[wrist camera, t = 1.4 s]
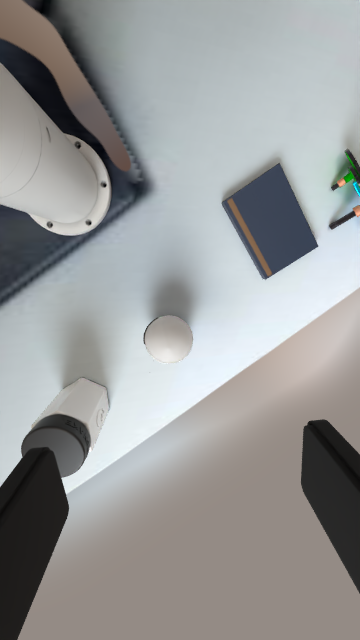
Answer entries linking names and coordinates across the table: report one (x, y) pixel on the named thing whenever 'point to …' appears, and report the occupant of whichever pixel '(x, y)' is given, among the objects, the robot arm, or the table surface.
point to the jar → (70, 424)
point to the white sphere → (168, 339)
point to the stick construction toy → (355, 173)
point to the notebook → (270, 222)
